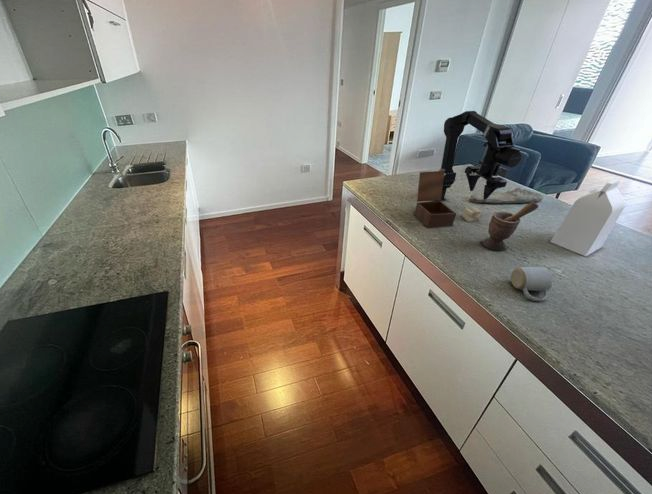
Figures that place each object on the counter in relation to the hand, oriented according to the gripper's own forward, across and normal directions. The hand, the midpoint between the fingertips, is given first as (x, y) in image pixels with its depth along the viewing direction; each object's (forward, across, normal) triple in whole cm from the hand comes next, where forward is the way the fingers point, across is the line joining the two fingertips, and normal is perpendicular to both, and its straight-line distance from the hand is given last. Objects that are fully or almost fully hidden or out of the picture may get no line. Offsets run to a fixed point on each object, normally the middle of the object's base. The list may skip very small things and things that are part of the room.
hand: (477, 195), depth 128 cm
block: (+12, 0, 0) cm, 12 cm away
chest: (+12, +1, +17) cm, 21 cm away
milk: (+12, -25, -27) cm, 39 cm away
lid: (-1, +9, +17) cm, 19 cm away
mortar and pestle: (+12, -22, +3) cm, 26 cm away
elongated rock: (+12, +16, -29) cm, 35 cm away
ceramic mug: (+12, -48, +11) cm, 50 cm away
